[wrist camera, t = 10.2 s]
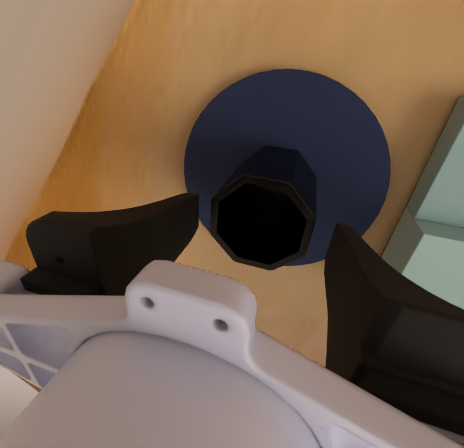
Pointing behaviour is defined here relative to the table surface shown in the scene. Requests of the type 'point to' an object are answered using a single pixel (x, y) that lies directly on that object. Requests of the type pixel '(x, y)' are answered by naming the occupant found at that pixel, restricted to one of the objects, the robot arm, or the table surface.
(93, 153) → the table surface
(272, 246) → the pen cup
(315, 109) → the navy mat
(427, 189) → the shelf riser
